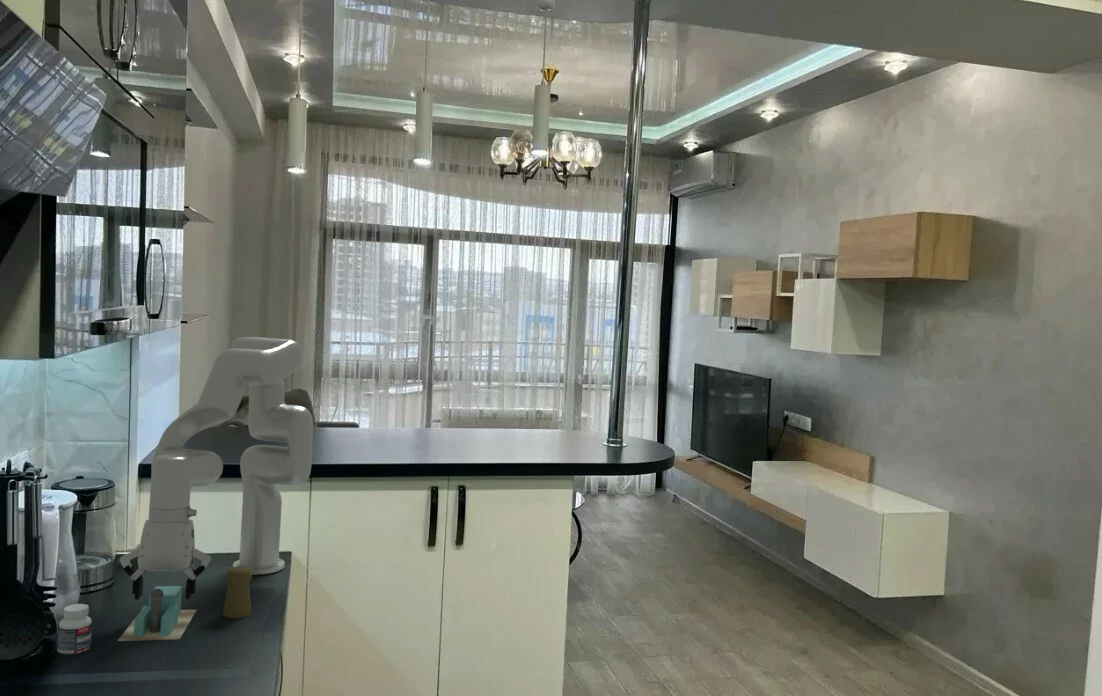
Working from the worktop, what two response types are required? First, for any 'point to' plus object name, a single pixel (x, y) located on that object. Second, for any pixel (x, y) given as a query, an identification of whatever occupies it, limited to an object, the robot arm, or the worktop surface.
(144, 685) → the worktop surface
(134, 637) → the stand
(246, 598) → the cork
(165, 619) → the link
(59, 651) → the pill bottle
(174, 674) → the worktop surface
